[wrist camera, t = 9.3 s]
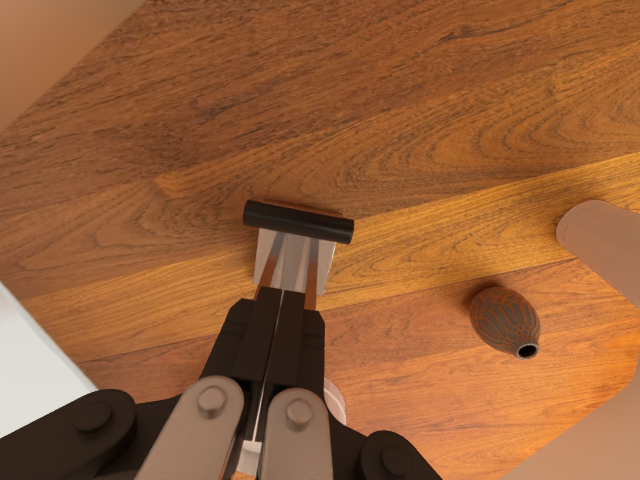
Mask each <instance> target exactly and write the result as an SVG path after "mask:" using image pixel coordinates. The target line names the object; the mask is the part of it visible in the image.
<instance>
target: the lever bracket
mask: <svg viewBox="0 0 640 480" xmlns="http://www.w3.org/2000/svg"><path fill="white" fill-rule="evenodd" d="M263 203H269V204H274V205H279V206H284V207H289V208H295V209H300V210H305V211H310V212H315V213H321V214H326V215H331V216H336V217H341V218H343V217H342V214H341V213H336V212H331V211H326V210H320V209H315V208H310V207H305V206H300V205H295V204H289V203H284V202H279V201H274V200H269V199H264V201H263ZM286 239H287V233H283V232H278V231H272V230H267V229H262V228H259V236H258V244H257V252H256V261H255V269H254V277H253V284H258V287H257V290H256V293H255V296H254V298H253V299H250V300H255V301H256V299H257V296H258V293H259V290H260V287H261V286H266V287H272V288H274V287H275V288H280V284H281V277H282V269H283V262H284V254H285V247H286ZM335 246H336V242H331V241H326V240H320V239H315V238H310V237H306V241H305V246H304V250H303V255H302V260H301V264H300V269H299V274H298V278H297V283H296V287H295V291H298V292H302V293H306V296H305V306H304V309H308V310H314V311H318V310H316V295H321V296H323V295H324V291H325V287H326V283H327V279H328V275H329V270H330V266H331V262H332V258H333V254H334V250H335Z"/></svg>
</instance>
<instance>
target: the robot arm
mask: <svg viewBox="0 0 640 480" xmlns="http://www.w3.org/2000/svg"><path fill="white" fill-rule="evenodd" d="M282 290H283V289H277V288H272V287H266V286H261V287H260V290H259V293H258V296H257V299H256V301H255V300H249V299H243V298H241V299H240V300H239V301H238V302H237V303H235V304H234V305H233V306H232V307H231V308H230V310H229V313H228V315H227V317H226V319H225V322H224V324H223V326H222V328H221V332H220V333H219V335H218V337H217V340H216V342H215V344H214V347H213V349H212V351H211V353H210V356H209V358H208V360H207V362H206V365H205V367H204V369H203V372H202V374H201V376H200V377H199V379H198V380H197V381H195V382H194V383H192V384H191V385H190V386H189V387H188V388H187V389H186V390H185V391H184V392H183V393H182V394H180V395H177V396H175V397H172V398H169V399H165V400H160V401H153V402H147V403H140V404H135V402H134V400H133V398H132V397H131V396H130V395H129V394H128V393H126V392H124V391H121V390H117V389H104V390H99V391H95V392H92V393H89V394H87V395H84V396H82V397H80V398H78V399H76V400H74V401H73V402H71V403H69V404H67V405H65V406H63V407H61V408H59V409H57V410H55V411H53V412H51V413H49V414H47V415H45V416H43V417H41V418H39V419H37V420H35V421H33V422H31V423H30V424H28V425H26V426H24V427H22V428H20V429H18V430H16V431H14V432H12V433H10V434H8V435H6V436H4V437H2V438H1V439H0V480H233V477H234V473H235V471H236V469H237V466H238V463H239V459H240V455H241V450H242V446H243V442H244V440H245V441H252V439H253V434H254V430H255V425H256V420H257V416H258V411H259V406H260V402H261V407H260V413H259V419H258V425H257V431H256V436H255V442H261V443H262V445H261V450H260V456H259V461H258V467H257V472H256V477H255V480H442V478H441V477H440V476H439V475H438V474H437V473H436V471H435V470H434V469H433V468H432V467H431V466H430V465H429V463H428V462H427V461H426V460H425V459H424V458H423V457H422V455H421V454H420V453H419V452H418V451H417V450H416V448H415V447H414V446H413V445H412V444H411V443H410V442H409V441H408V440H406V439H405V438H404V437H402V436H401V435H399V434H397V433H395V432H391V431H386V430H381V431H376V432H374V433H372V434H370V435H369V436H368V437H367V436H365V435H363V434H361V433H359V432H357V431H355V430H353V429H351V428H349V427H347V426H345V425H344V424H342V423H341V422H340V421H338V420H337V419H336V418H335V417H334V416H333V414H332V413H331V412H330V410H329V408H328V407H327V404H326V401H325V397H324V347H325V339H324V337H325V323H324V321H323V319H322V317H321V315H320V313H319V311H314V310H308V309H304V306H305V296H306V293H301V292H295V291H289V290H284V294H283V299H282V304H281V308H280V302H281V297H282ZM279 308H280V313H279ZM278 314H279V318H278ZM277 319H278V322H277ZM276 325H277V327H276ZM275 330H276V332H275ZM272 345H273V346H272ZM271 350H272V351H271ZM269 359H270V360H269ZM268 364H269V365H268ZM265 378H266V379H265ZM264 383H265V384H264ZM263 388H264V390H263ZM262 392H263V396H262ZM261 397H262V401H261Z"/></svg>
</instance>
